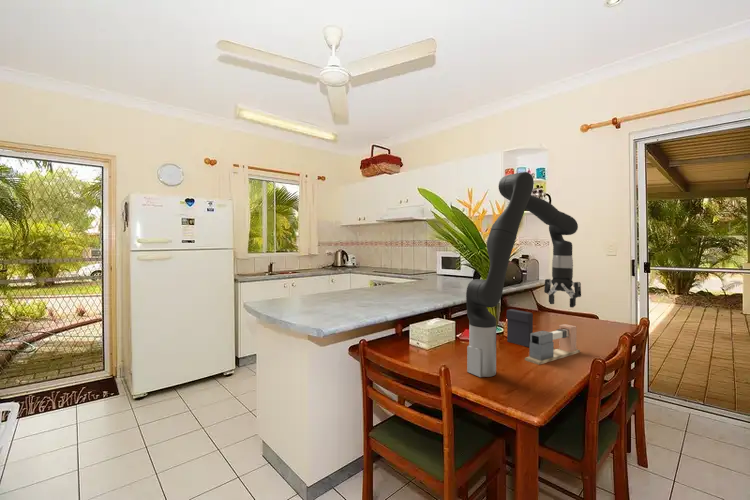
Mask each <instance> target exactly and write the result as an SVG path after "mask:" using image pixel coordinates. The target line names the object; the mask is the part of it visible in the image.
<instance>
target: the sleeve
mask: <svg viewBox="0 0 750 500" xmlns="http://www.w3.org/2000/svg"><path fill="white" fill-rule="evenodd" d="M551 332H552V331H546V330H540V331H535V332H534V331H533V333H530V345H529V347H528V348H529V356H528V357H530V358H534V359H537V360H540V361H542V360H546V359H549V358H552V357H553V354H554V350H555V348H554V343H555V342H554V340H553V333H551Z"/></svg>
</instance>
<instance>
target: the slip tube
mask: <svg viewBox="0 0 750 500" xmlns="http://www.w3.org/2000/svg"><path fill="white" fill-rule="evenodd" d="M550 332H551V333H553V341H555V340H559V338H566V337H567V336H569V329H566V328H565V329H559V328H558V329H556V330H553V331H550Z"/></svg>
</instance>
